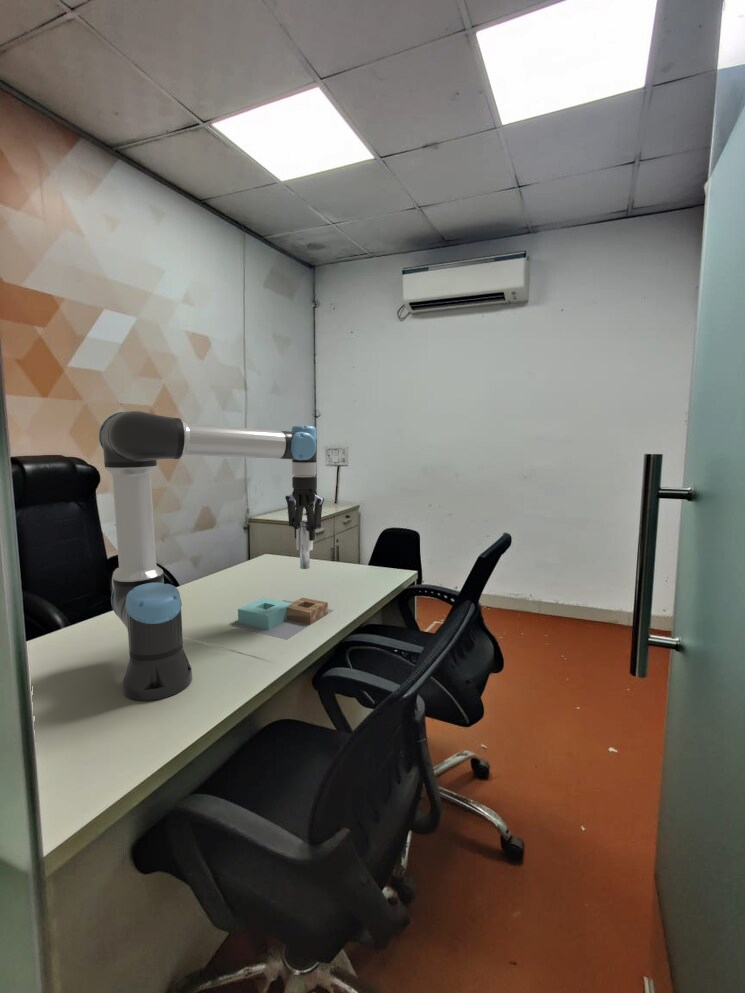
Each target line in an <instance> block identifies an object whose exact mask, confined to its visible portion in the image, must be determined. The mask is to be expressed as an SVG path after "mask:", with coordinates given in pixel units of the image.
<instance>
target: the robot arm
mask: <svg viewBox="0 0 745 993" xmlns="http://www.w3.org/2000/svg"><path fill="white" fill-rule="evenodd" d="M317 436H318V435H317V429H316V427H315V426H311V425H293V426H292V427H291V430H290V431H288V430H274V429H264V428H249V427H238V426H237V427H236V426H228V425H227V426H226V425H214V424H213V425H212V424H202V423H201V424H200V423H190V422H189V423H188V422H185V421H184V420H183V419H182V418H180V417H171V416H163V415H161V414H160V415H159V414H155V413H150V412H145V411H139V410H130V411H119V412H115V413H113V414H111V415H110V416H108V417H107V418H106V419H105V420H104V421H103V423H102V424H101V425H100V428H99V432H98V440H99V441H98V442H99V444H100V446H101V448H102V450H103V460H104V462H103V463H104V469H105V470H106V471H108V472H109V473H110V474H111V475H112V486H113V487H112V490H113V503H114V504H113V505H114V515H115V529H116V545H117V556H118V557H117V558H118V559H117V560H118V570H116V572H115V573H114V574H113V575H112V582H113V583H112V584H113V586H112V587H113V589H112V592H111V597H110V601H111V602H110V603H111V608H112V611H113V612H114V613H115V615H116V616H117V617H118V618H119V619H120V621H121V622H122V623H123V625H124V626H125V627H126V630H127V637H128V639H127V640H128V653H129V659H128V663H127V667H126V670H125V675H124V677H123V680H122V690H123V695H124V697H127V698H129V699H131V700H136V701H143V702H144V701H146V702H147V701H155V700H161V699H164V698H169V697H171V696H173V695H176V694H178V693H180V692H182V691H183V690H185V689H186V688H187V687H189V685H190V684H191V683H192V681H193V670H192V666H191V664H190V662H189V659H188V657H187V655H186V652H185V649H184V644H183V643H184V642H183V638H184V636H183V623H182V622H183V620H182V605H183V603H182V599H181V594H180V591H179V589H178V587H176V586H174V585H173V584H170V583H165V580H164V578H165V577H164V570H163V569H162V567H160V566H158V565H157V556H156V539H155V538H156V537H155V525H154V524H155V520H154V506H153V505H154V504H153V489H152V488H153V487H152V473H153V471H154V470H155V469H156V468H157V467H158V461H159V460H181V459H182V458H183V457H184V456H196V457H197V456H200V457H228V458H229V457H230V458H252V459H253V458H254V459H255V458H256V459H277V460H278V459H280V460H291V461H292V462H291V463H292V464H291V473H292V474H291V475H293V476H292V478H291V479H292V482H291V485H292V486H291V487H292V489H293V490H292V492H291V494H289V495H285V500H286V504H287V517H288V526H290V527H292V528H293V530H294V539H296V541H295V543H296V551H300V521H302V520H303V516H304V509H305V515H306V520H307V523H308V529H307V531H306V551H313V550H314V540H315V539H316V530H318V529H320V528H321V525H322V512H323V504H324V502H325V498H324V497H320V496H318V494H317V482H318V481H317V480H318V479H317V477H316V475H317V459H318V458H317V452H318V451H317V449H318V448H317V444H318V443H317V442H318V438H317ZM157 460H158V461H157Z"/></svg>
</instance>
